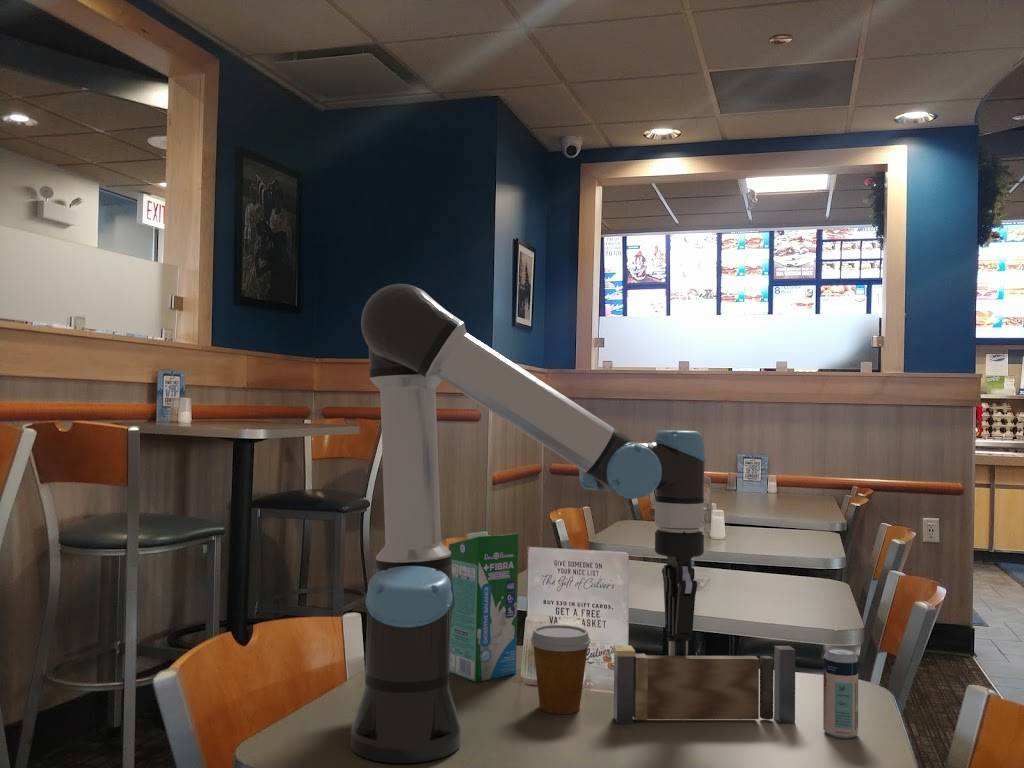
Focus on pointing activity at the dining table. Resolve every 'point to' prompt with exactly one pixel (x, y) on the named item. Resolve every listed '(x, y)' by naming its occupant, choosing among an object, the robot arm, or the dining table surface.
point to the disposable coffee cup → (560, 666)
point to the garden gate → (702, 687)
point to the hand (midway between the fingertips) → (677, 681)
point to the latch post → (623, 683)
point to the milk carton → (484, 606)
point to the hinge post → (784, 684)
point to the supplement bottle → (840, 693)
